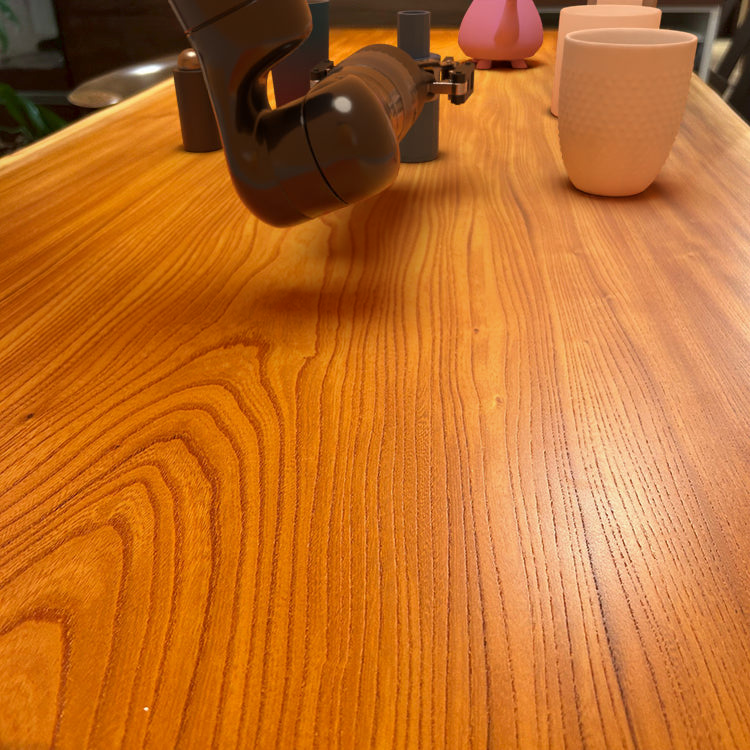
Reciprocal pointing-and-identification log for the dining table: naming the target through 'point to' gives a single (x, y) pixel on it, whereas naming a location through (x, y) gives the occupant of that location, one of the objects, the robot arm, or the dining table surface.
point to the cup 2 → (598, 19)
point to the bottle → (425, 130)
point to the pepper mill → (195, 106)
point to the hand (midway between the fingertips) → (405, 67)
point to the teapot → (500, 32)
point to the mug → (621, 105)
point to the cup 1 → (303, 58)
